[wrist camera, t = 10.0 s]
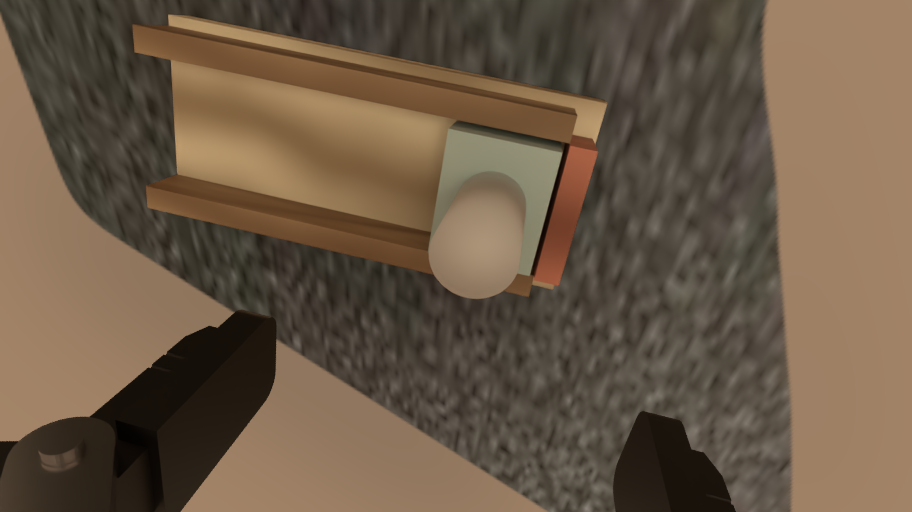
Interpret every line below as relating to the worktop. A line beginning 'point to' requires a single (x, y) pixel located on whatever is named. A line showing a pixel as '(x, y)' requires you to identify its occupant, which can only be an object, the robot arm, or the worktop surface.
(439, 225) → the slider
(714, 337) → the worktop surface
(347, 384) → the worktop surface
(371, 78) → the track
